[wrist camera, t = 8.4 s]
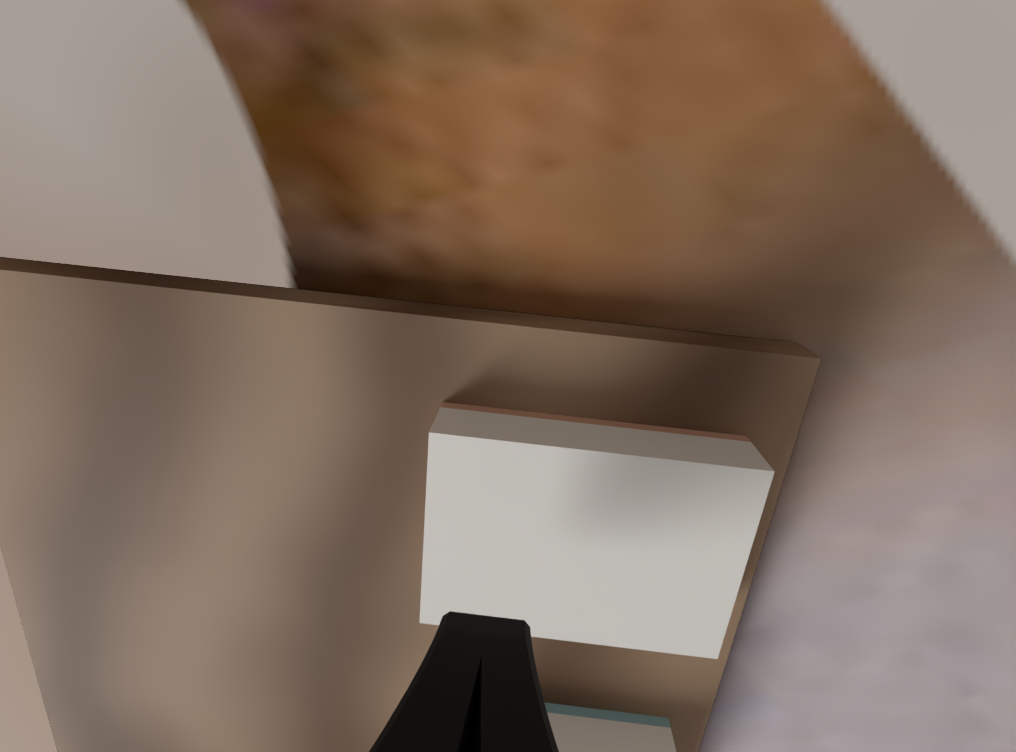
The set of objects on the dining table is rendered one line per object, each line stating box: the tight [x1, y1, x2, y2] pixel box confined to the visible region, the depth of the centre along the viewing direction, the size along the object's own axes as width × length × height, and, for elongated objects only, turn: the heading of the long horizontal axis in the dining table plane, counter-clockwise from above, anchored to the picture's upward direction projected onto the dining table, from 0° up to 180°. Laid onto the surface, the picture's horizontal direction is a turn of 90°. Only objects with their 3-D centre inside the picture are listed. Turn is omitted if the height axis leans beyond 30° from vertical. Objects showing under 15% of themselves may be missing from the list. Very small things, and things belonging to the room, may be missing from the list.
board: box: [0, 257, 821, 752], centre depth 15 cm, size 20×18×1 cm
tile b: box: [419, 402, 775, 659], centre depth 12 cm, size 2×5×7 cm
